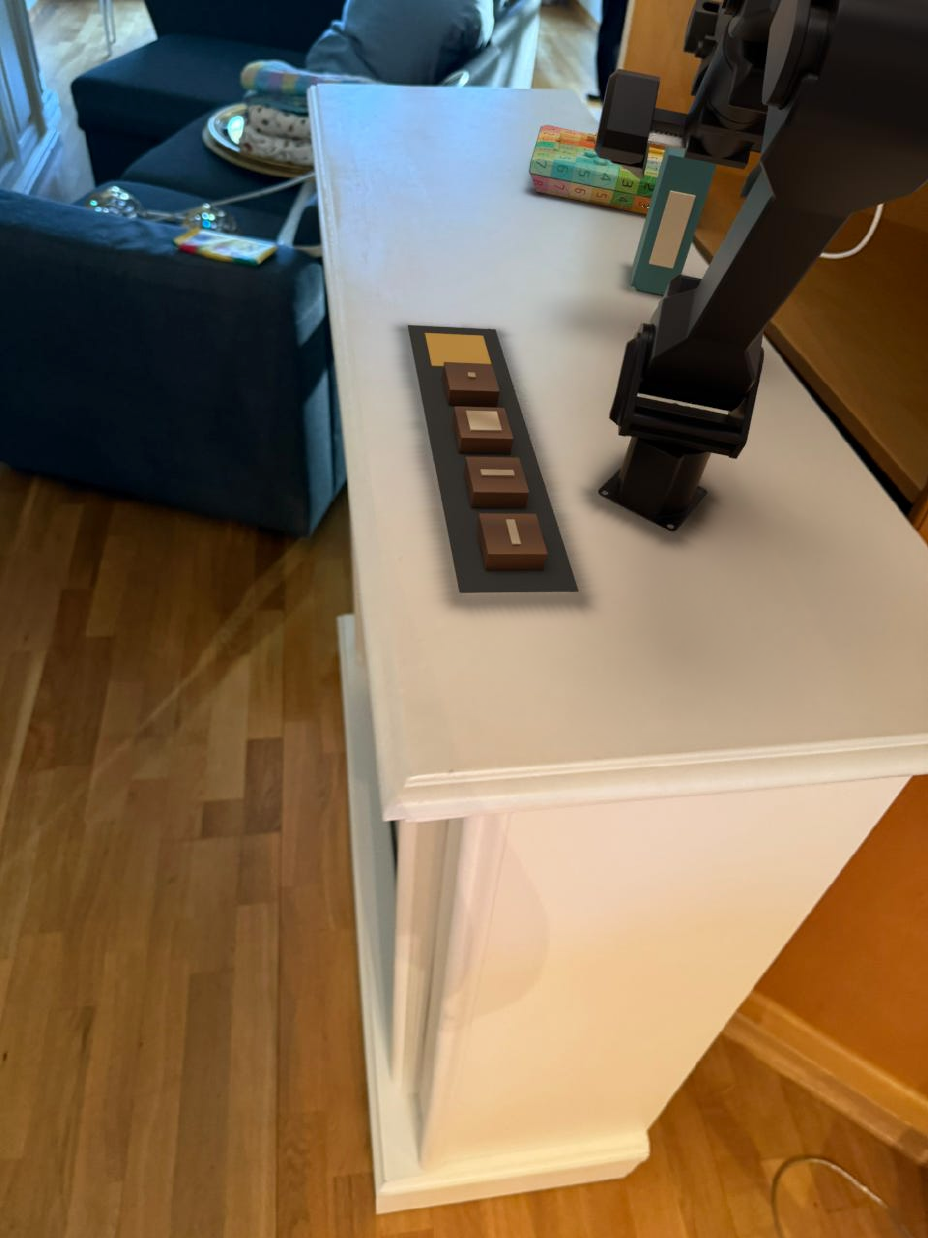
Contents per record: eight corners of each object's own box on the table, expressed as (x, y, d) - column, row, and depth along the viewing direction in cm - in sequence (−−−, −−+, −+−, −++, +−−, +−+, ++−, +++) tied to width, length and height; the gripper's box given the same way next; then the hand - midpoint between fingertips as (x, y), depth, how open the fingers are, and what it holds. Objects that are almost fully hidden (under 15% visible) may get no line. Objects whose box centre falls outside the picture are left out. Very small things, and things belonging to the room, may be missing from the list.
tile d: (496, 407, 72) (500, 389, 71) (447, 405, 72) (450, 387, 70) (488, 379, 75) (492, 361, 74) (441, 377, 74) (443, 359, 73)
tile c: (510, 454, 68) (514, 436, 67) (458, 453, 67) (461, 435, 66) (501, 423, 71) (505, 405, 70) (451, 422, 70) (454, 404, 69)
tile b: (525, 508, 64) (530, 490, 63) (470, 508, 63) (474, 489, 62) (515, 473, 67) (519, 455, 66) (462, 472, 66) (465, 454, 65)
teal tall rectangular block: (674, 298, 91) (717, 164, 82) (630, 290, 91) (668, 155, 82) (673, 276, 95) (714, 145, 85) (631, 267, 95) (668, 136, 85)
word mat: (577, 597, 59) (579, 590, 59) (458, 598, 58) (459, 591, 57) (494, 334, 81) (495, 328, 81) (406, 330, 80) (407, 323, 79)
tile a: (543, 570, 60) (548, 551, 59) (484, 570, 59) (488, 551, 58) (531, 529, 63) (536, 511, 61) (475, 529, 62) (479, 511, 61)
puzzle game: (542, 117, 109) (704, 150, 109) (535, 158, 112) (692, 190, 112) (532, 151, 101) (707, 187, 100) (524, 194, 104) (694, 228, 104)
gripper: (897, -5, 64) (814, 113, 79) (639, -57, 64) (606, 71, 79) (864, 151, 64) (787, 238, 80) (607, 100, 64) (581, 197, 80)
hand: (691, 183), depth 80 cm, fingers open, 9 cm apart
